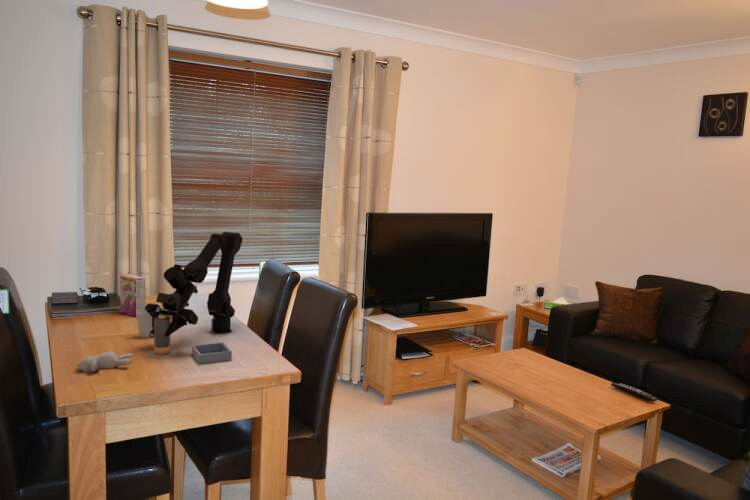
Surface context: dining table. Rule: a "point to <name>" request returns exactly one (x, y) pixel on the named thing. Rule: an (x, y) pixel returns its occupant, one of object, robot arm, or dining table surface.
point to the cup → (145, 323)
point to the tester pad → (151, 354)
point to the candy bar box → (132, 294)
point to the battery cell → (161, 335)
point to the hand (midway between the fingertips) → (159, 335)
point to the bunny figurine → (103, 361)
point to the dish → (211, 353)
